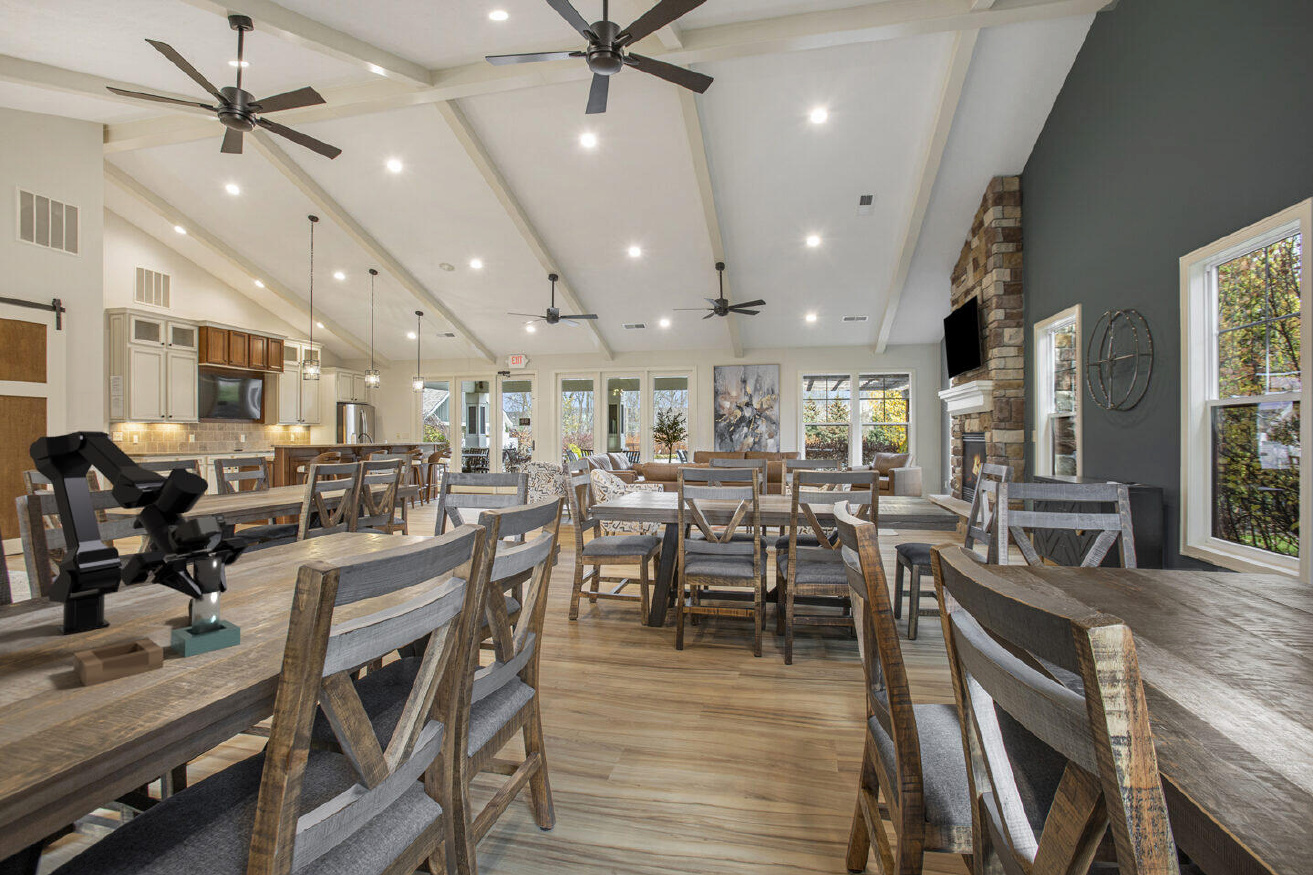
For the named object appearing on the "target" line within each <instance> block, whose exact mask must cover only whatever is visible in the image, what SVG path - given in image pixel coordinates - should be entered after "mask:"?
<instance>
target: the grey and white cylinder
mask: <svg viewBox="0 0 1313 875" xmlns="http://www.w3.org/2000/svg"><path fill="white" fill-rule="evenodd" d="M221 559H222V557H219V556H211V557H201V558H196V559H194V560H193V565H192V566H193V568H192V569H193V570H192V575H193V576H192V578H193V580H194V581H195V583H196V584H197V586H198V587H199V589H200V591H201V593H202V596H201V597H200V599H195V598H193V597H192V598H193V600H192V633H196V634H199V633H208V632H212V631H215V630H218V629H219V628H220V620H221V600H222V599H221V594H222V593H221Z"/></svg>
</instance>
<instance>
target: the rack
mask: <svg viewBox="0 0 1313 875" xmlns="http://www.w3.org/2000/svg"><path fill="white" fill-rule="evenodd" d="M162 668H164V648H163V647H161V646H160V645H158V644H157V643H156V642H154V640H152V639H151V638H149V637H145V638H140V639H135V640H129V641H127V642H126V641H125V642H122V643H117V644H112V645H108V646H102V647H97V648H92V649H89V650H84V651H78V652H74V653H73V673H74V674H75V676H77V678H78V679H79V680H80V681H81V682H82V684H83V685H84V686H85V687H89V686H92V685H93V686H94V685H97V684H101V683H105V682H109V681H113V680H117V679H121V678H125V677H130V676H133V675H134V676H135V675H137V674H142V673H145V672H150V671H153V670H158V669H162Z"/></svg>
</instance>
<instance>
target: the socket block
mask: <svg viewBox="0 0 1313 875" xmlns="http://www.w3.org/2000/svg"><path fill="white" fill-rule="evenodd" d="M237 645H241V627H240V626H238V625H236V624H234V623H232V622H230V621H228V620H227V619H220V628H219V629H218V630H215V631H212V632H208V633H199V634H196V633H192V626H191V627H188V626H186V627H183V628H178V629H174V630H173V629H171V630H170V648H171V649H172V650H174V651H176V652H177V653H179V654H180V655H181V656H182V657H184V658H188V657H192V656H196V655H200V654H205V653H208V652H209V653H210V652H213V651H217V650H221V649H225V648H229V647H230V648H231V647H233V646H237Z"/></svg>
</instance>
